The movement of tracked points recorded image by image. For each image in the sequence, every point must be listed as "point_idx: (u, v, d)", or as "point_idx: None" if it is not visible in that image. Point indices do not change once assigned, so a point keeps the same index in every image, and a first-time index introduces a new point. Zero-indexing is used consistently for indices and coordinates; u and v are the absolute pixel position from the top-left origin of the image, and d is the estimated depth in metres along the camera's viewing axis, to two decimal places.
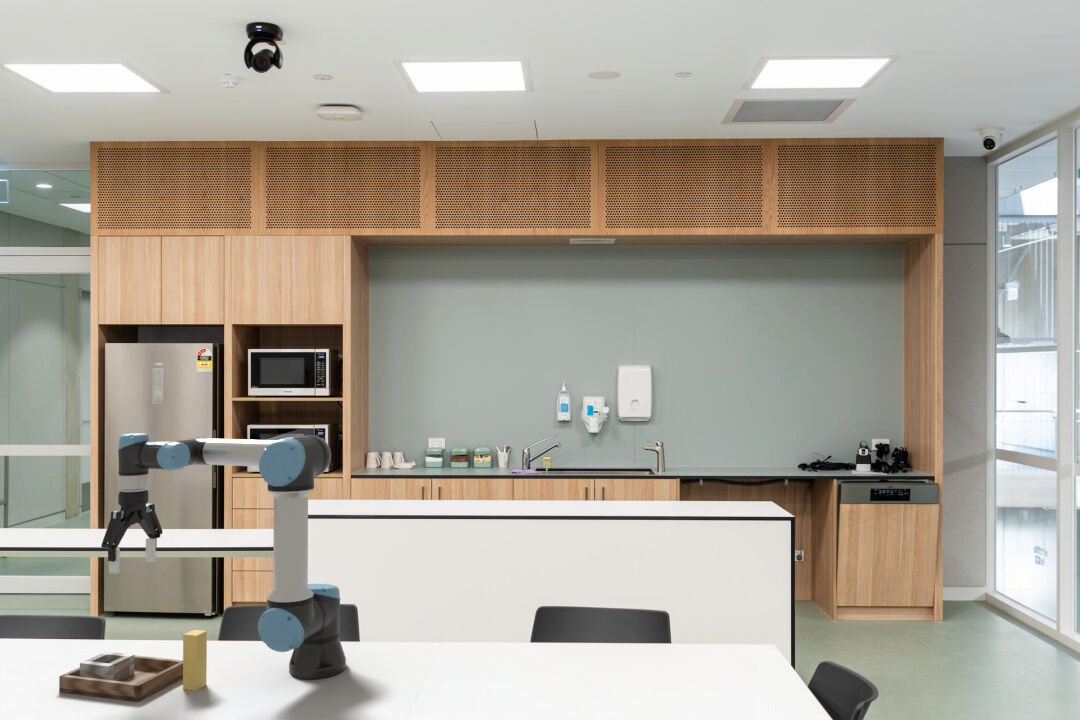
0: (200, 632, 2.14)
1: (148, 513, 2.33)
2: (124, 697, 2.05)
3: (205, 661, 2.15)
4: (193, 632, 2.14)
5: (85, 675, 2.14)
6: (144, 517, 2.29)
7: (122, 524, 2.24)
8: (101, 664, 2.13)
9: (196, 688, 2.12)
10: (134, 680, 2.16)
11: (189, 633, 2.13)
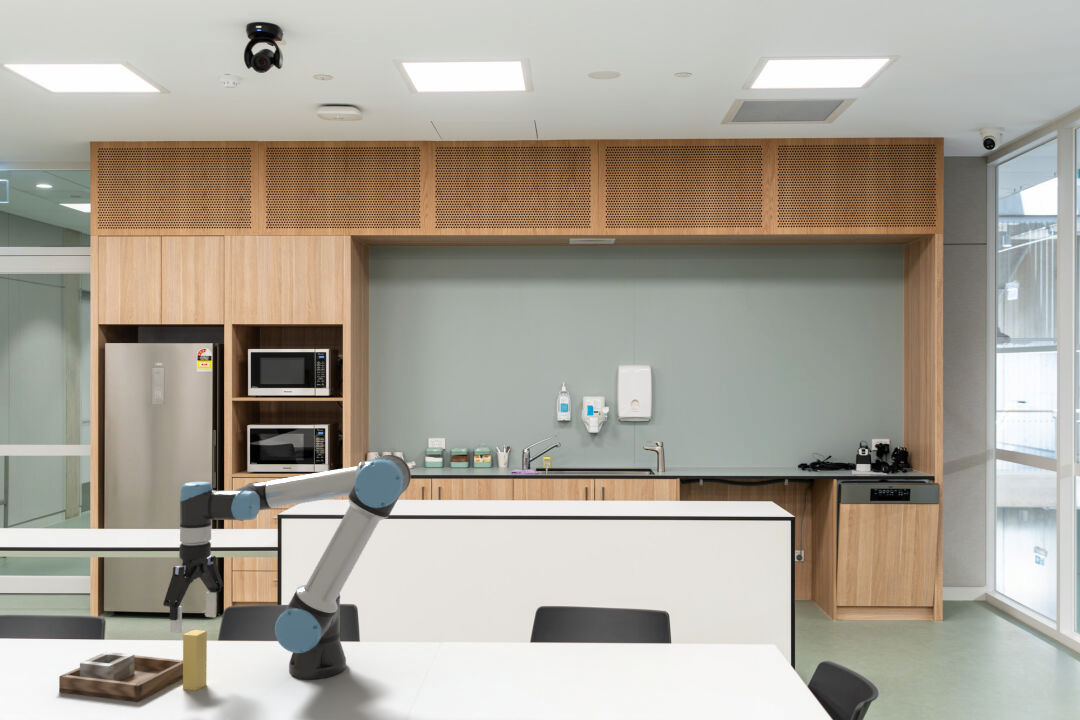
0: (200, 632, 2.14)
1: (209, 565, 2.20)
2: (124, 697, 2.05)
3: (205, 661, 2.15)
4: (193, 632, 2.14)
5: (85, 675, 2.14)
6: (206, 571, 2.16)
7: (184, 580, 2.10)
8: (101, 664, 2.13)
9: (196, 688, 2.12)
10: (134, 680, 2.16)
11: (189, 633, 2.13)
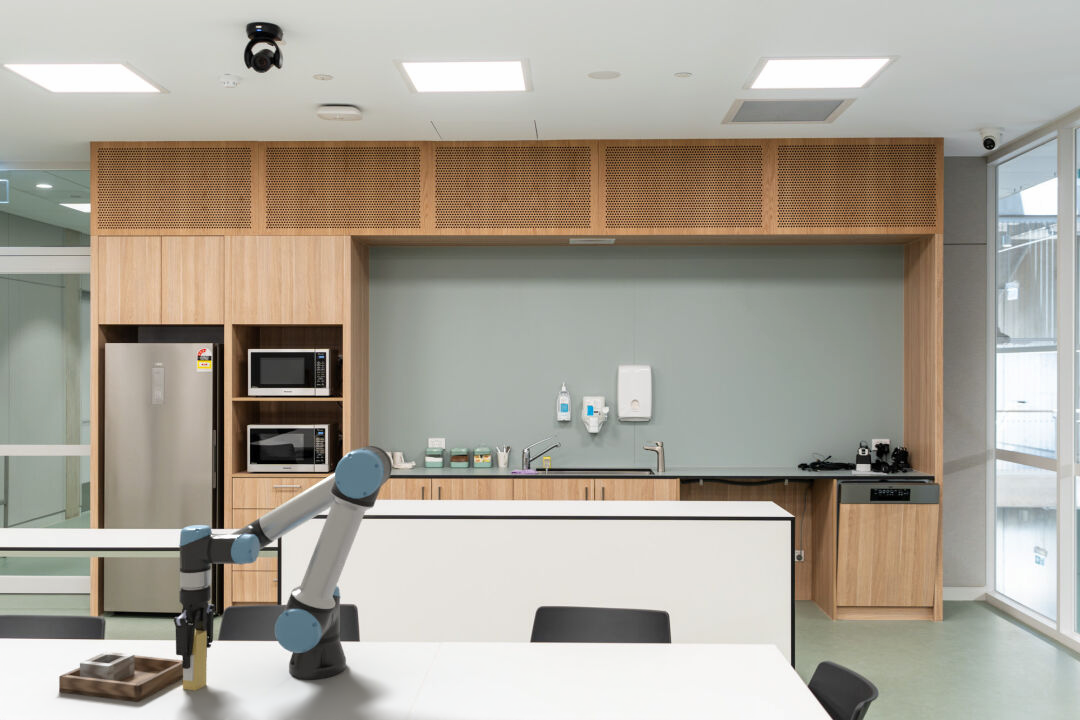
0: (200, 632, 2.14)
1: (206, 614, 2.19)
2: (124, 697, 2.05)
3: (205, 661, 2.15)
4: None
5: (85, 675, 2.14)
6: (204, 616, 2.15)
7: (188, 627, 2.12)
8: (101, 664, 2.13)
9: (196, 688, 2.12)
10: (134, 680, 2.16)
11: None
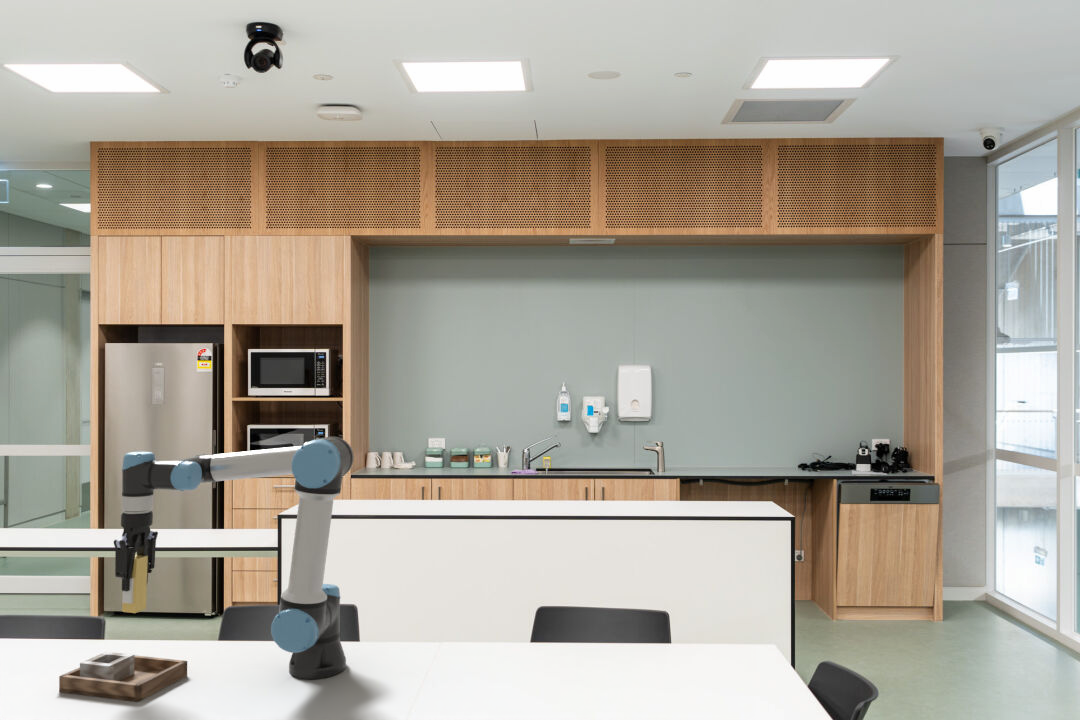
0: (141, 556, 2.17)
1: (148, 540, 2.21)
2: (124, 697, 2.05)
3: (145, 585, 2.18)
4: None
5: (85, 675, 2.14)
6: (145, 541, 2.18)
7: (129, 550, 2.14)
8: (101, 664, 2.13)
9: (135, 611, 2.14)
10: (134, 680, 2.16)
11: None
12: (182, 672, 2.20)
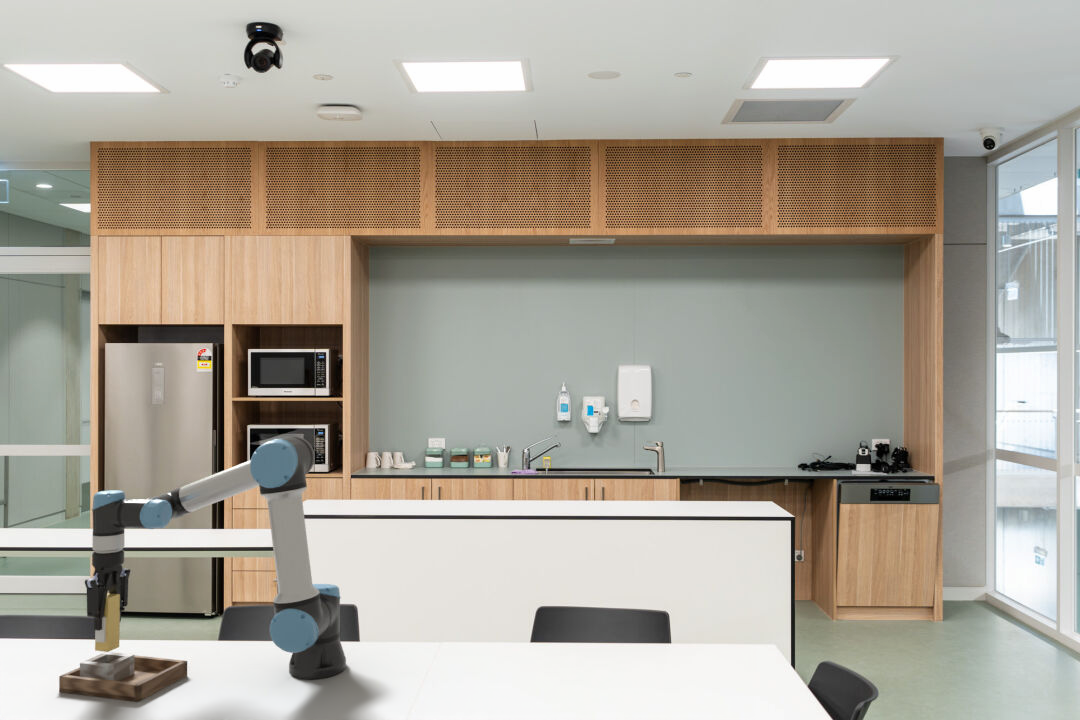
0: (113, 595, 2.18)
1: (121, 578, 2.22)
2: (124, 697, 2.05)
3: (118, 623, 2.19)
4: None
5: (85, 675, 2.14)
6: (117, 580, 2.19)
7: (100, 589, 2.15)
8: (101, 664, 2.13)
9: (108, 649, 2.15)
10: (134, 680, 2.16)
11: None
12: (182, 672, 2.20)
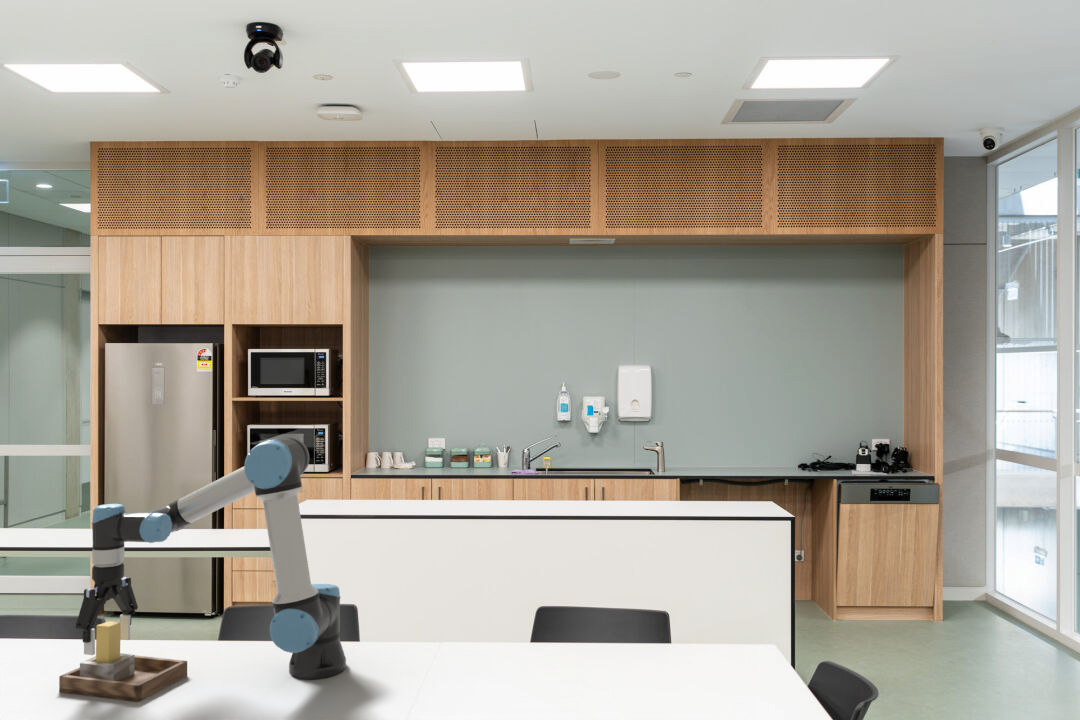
0: (114, 623, 2.18)
1: (124, 587, 2.23)
2: (124, 697, 2.05)
3: (118, 652, 2.19)
4: (106, 623, 2.18)
5: (85, 675, 2.14)
6: (119, 592, 2.19)
7: (96, 602, 2.14)
8: (101, 664, 2.13)
9: None
10: (134, 680, 2.16)
11: (103, 624, 2.17)
12: (182, 672, 2.20)
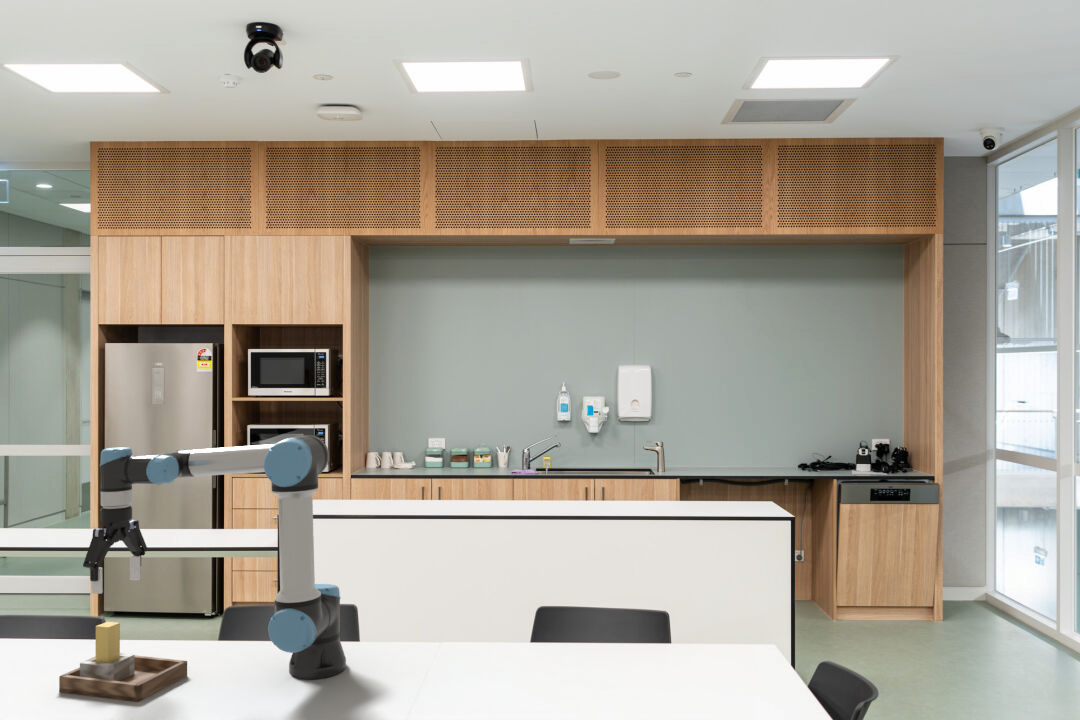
0: (113, 624, 2.18)
1: (132, 530, 2.25)
2: (124, 697, 2.05)
3: (118, 652, 2.19)
4: (106, 624, 2.18)
5: (85, 675, 2.14)
6: (128, 534, 2.21)
7: (105, 542, 2.15)
8: (101, 664, 2.13)
9: None
10: (134, 680, 2.16)
11: (102, 625, 2.17)
12: (182, 672, 2.20)
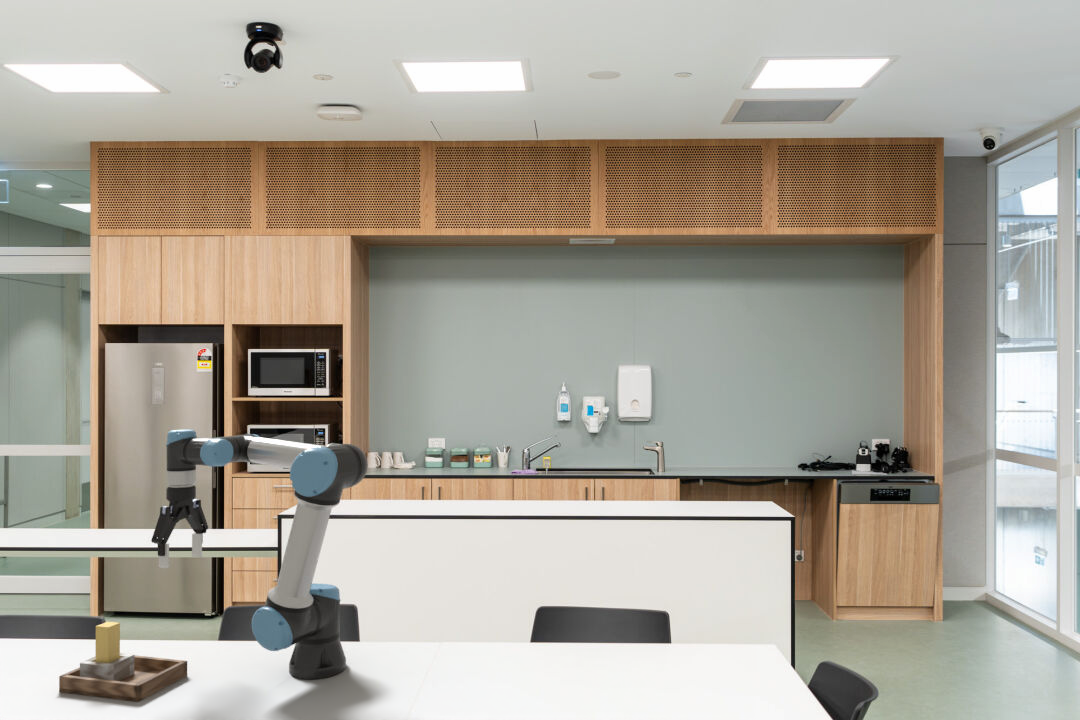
0: (113, 624, 2.18)
1: (194, 508, 2.36)
2: (124, 697, 2.05)
3: (118, 652, 2.19)
4: (106, 624, 2.18)
5: (85, 675, 2.14)
6: (191, 512, 2.31)
7: (171, 519, 2.26)
8: (101, 664, 2.13)
9: None
10: (134, 680, 2.16)
11: (102, 625, 2.17)
12: (182, 672, 2.20)
